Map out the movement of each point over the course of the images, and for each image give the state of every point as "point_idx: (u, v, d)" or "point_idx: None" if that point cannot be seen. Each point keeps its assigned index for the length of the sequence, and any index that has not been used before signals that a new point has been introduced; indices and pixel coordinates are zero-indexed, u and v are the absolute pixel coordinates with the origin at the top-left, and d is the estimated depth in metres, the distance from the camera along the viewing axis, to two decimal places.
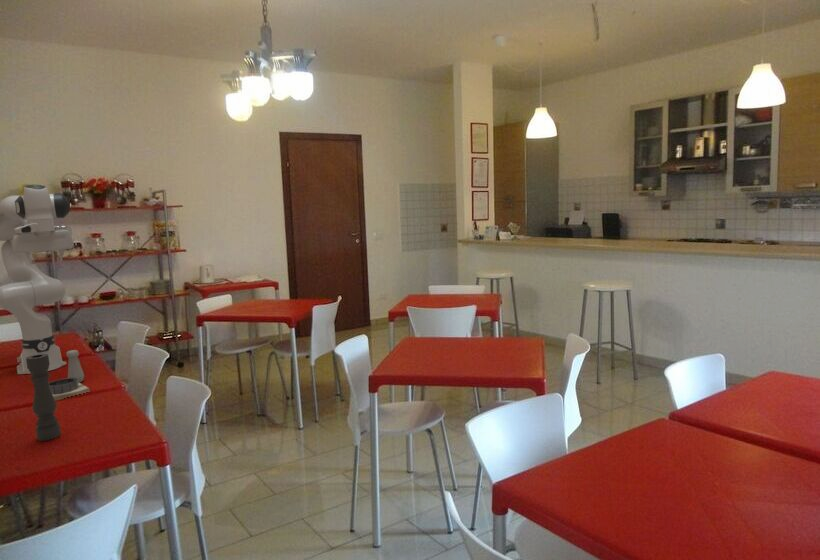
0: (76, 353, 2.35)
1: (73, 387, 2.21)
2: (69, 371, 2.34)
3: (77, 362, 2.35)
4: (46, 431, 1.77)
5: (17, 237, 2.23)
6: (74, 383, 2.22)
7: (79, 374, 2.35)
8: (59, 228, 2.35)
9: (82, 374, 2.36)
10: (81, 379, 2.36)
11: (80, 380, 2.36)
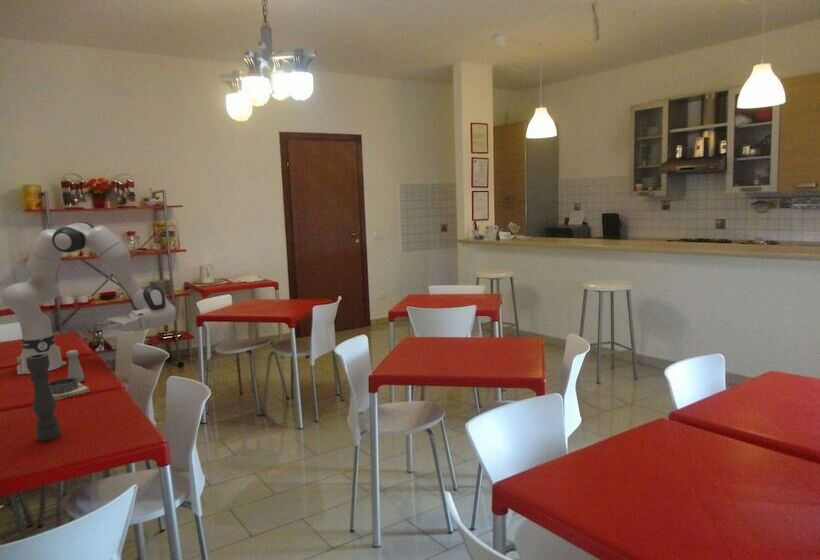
0: (76, 353, 2.35)
1: (73, 387, 2.21)
2: (69, 371, 2.34)
3: (77, 362, 2.35)
4: (46, 431, 1.77)
5: (138, 329, 2.44)
6: (74, 383, 2.22)
7: (79, 374, 2.35)
8: None
9: (82, 374, 2.36)
10: (81, 379, 2.36)
11: (80, 380, 2.36)
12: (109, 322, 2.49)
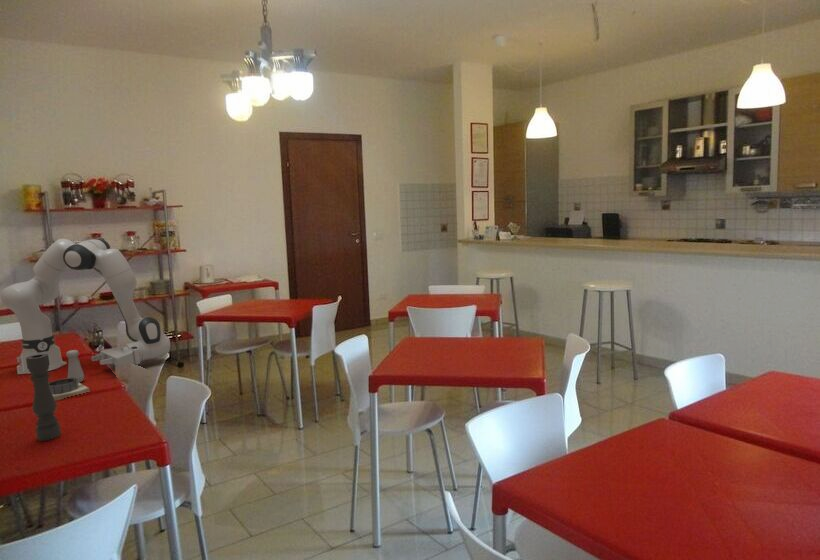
0: (76, 353, 2.35)
1: (73, 387, 2.21)
2: (69, 371, 2.34)
3: (77, 362, 2.35)
4: (46, 431, 1.77)
5: (132, 363, 2.43)
6: (74, 383, 2.22)
7: (79, 374, 2.35)
8: None
9: (82, 374, 2.36)
10: (81, 379, 2.36)
11: (80, 380, 2.36)
12: (103, 355, 2.48)
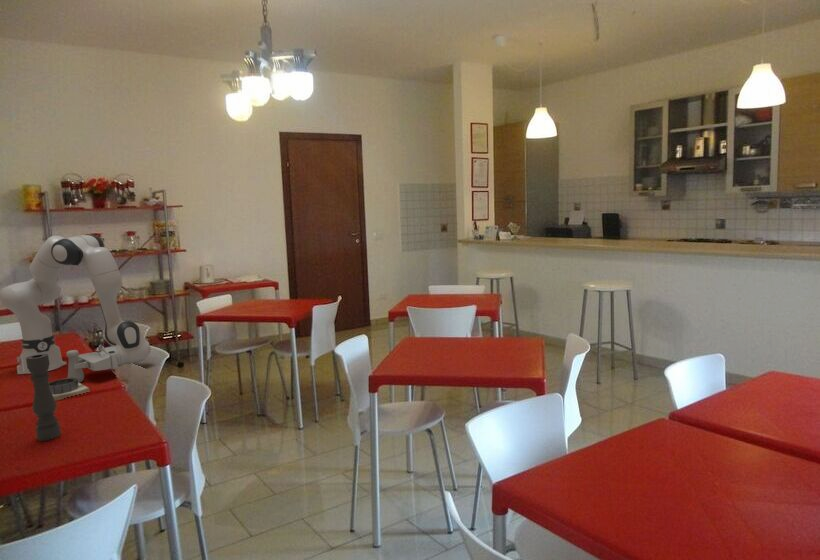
0: (76, 353, 2.35)
1: (73, 387, 2.21)
2: (69, 371, 2.34)
3: (77, 362, 2.35)
4: (46, 431, 1.77)
5: (109, 368, 2.37)
6: (74, 383, 2.22)
7: (79, 374, 2.35)
8: None
9: (82, 374, 2.36)
10: (81, 379, 2.36)
11: (80, 380, 2.36)
12: None
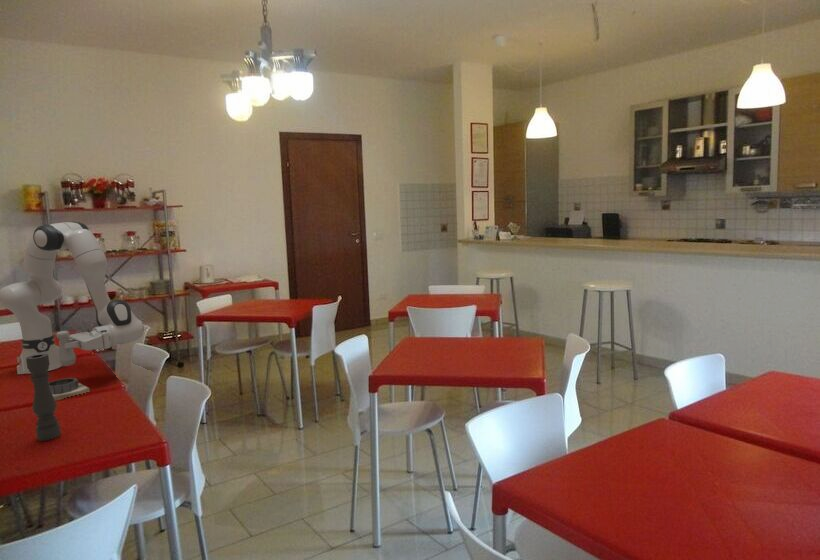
0: (66, 334, 2.26)
1: (73, 387, 2.21)
2: (60, 353, 2.25)
3: None
4: (46, 431, 1.77)
5: (101, 348, 2.28)
6: (74, 383, 2.22)
7: (70, 355, 2.26)
8: None
9: (74, 355, 2.28)
10: (73, 361, 2.28)
11: (72, 362, 2.27)
12: None
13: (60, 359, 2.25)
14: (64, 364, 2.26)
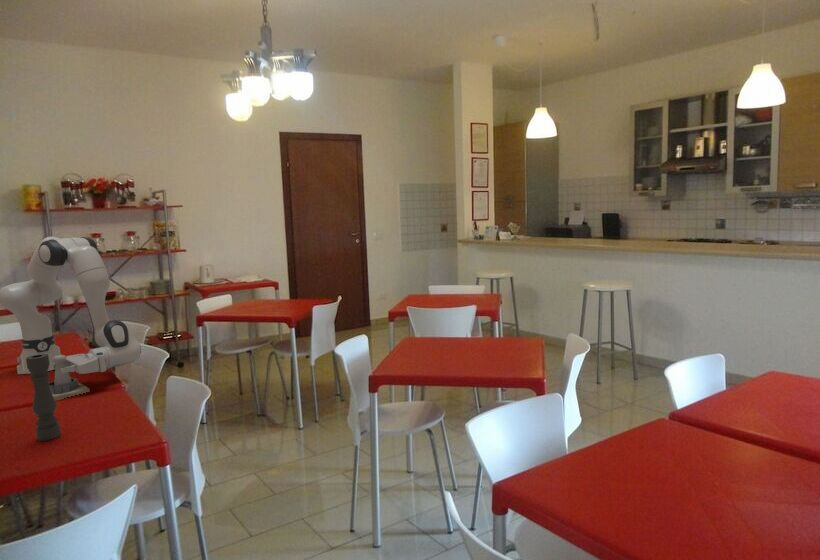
0: (63, 358, 2.21)
1: (73, 387, 2.21)
2: (56, 377, 2.20)
3: None
4: (46, 431, 1.77)
5: (96, 371, 2.22)
6: (74, 383, 2.22)
7: (66, 380, 2.21)
8: None
9: (70, 381, 2.23)
10: None
11: None
12: (65, 362, 2.28)
13: (56, 384, 2.20)
14: None
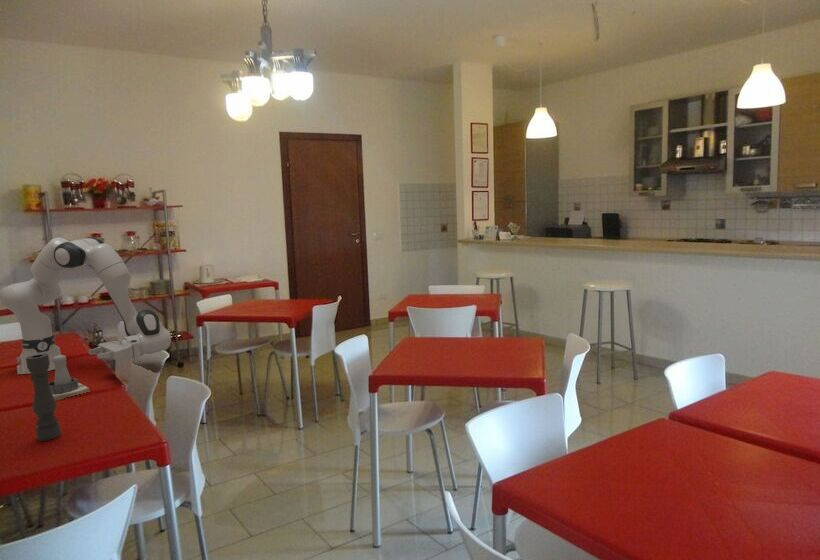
0: (63, 358, 2.21)
1: (73, 387, 2.21)
2: (56, 377, 2.20)
3: (64, 367, 2.21)
4: (46, 431, 1.77)
5: (131, 357, 2.33)
6: (74, 383, 2.22)
7: (66, 380, 2.21)
8: None
9: (70, 381, 2.23)
10: None
11: None
12: (100, 348, 2.38)
13: (56, 384, 2.20)
14: None
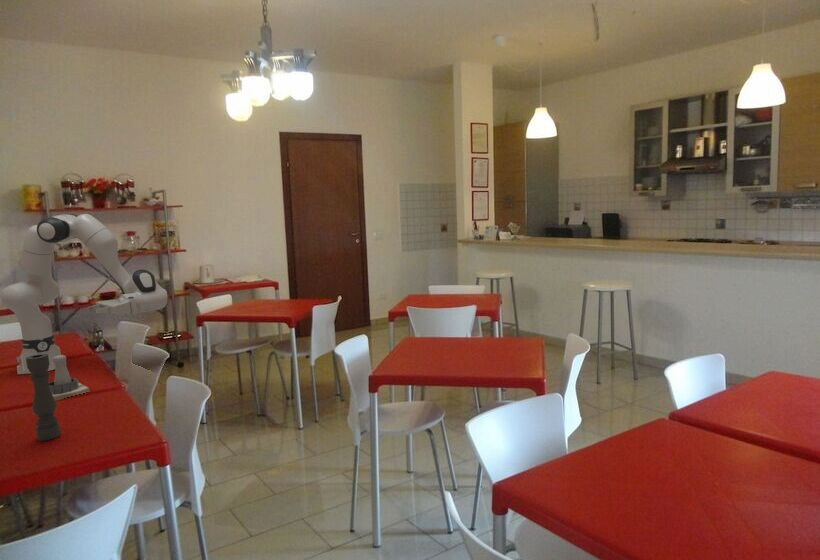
0: (63, 358, 2.21)
1: (73, 387, 2.21)
2: (56, 377, 2.20)
3: (64, 367, 2.21)
4: (46, 431, 1.77)
5: (128, 313, 2.38)
6: (74, 383, 2.22)
7: (66, 380, 2.21)
8: None
9: (70, 381, 2.23)
10: None
11: None
12: (99, 306, 2.43)
13: (56, 384, 2.20)
14: None
